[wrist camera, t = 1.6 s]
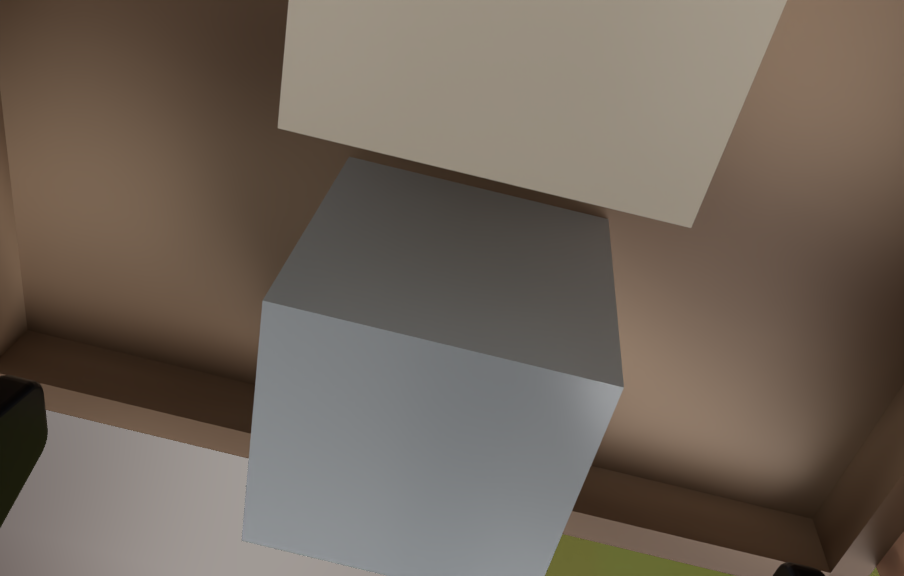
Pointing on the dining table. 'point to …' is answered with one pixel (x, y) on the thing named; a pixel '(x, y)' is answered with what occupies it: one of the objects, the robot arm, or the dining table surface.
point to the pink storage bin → (893, 560)
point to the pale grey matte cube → (431, 378)
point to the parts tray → (632, 236)
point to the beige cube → (534, 89)
